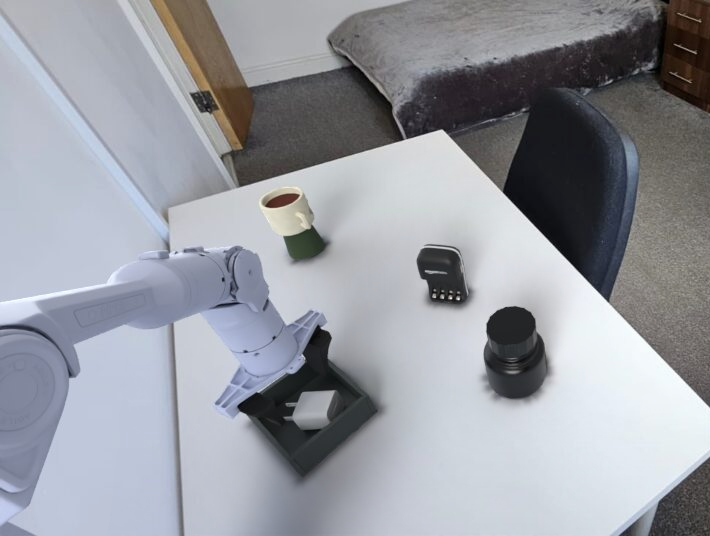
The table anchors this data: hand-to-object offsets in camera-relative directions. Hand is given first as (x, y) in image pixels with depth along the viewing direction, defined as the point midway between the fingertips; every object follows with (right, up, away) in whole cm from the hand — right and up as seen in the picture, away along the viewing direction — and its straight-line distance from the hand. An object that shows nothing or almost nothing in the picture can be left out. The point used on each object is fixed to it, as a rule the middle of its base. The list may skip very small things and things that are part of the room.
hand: (300, 395), depth 62 cm
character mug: (-16, +18, +29) cm, 38 cm away
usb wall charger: (0, -4, +3) cm, 6 cm away
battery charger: (+14, +10, +21) cm, 27 cm away
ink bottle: (+27, 0, +10) cm, 29 cm away
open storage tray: (0, -4, +4) cm, 6 cm away
